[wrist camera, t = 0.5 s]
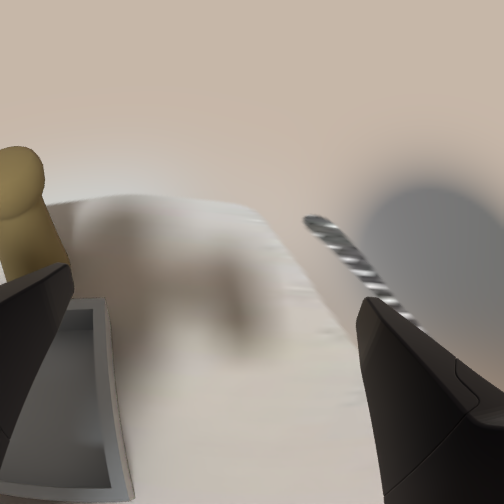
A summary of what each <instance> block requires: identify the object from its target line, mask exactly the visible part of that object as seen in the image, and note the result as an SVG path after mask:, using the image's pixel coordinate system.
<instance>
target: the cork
mask: <svg viewBox="0 0 504 504" xmlns="http://www.w3.org/2000/svg"><path fill="white" fill-rule="evenodd" d="M44 184H45V176H44V169H43V164H42V162H41V160H40V158H39V157H38V155H37V154H36V153H35V152H34V151H33V150H32V149H29V148H27V147H21V146H14V147H7V148H4V149H1V150H0V261H1V264H2V268H3V271H4V274H5V277H6V280H7V282H10V281H12V280H14V279H17V278H19V277H22V276H24V275H27V274H29V273H32V272H34V271H37V270H39V269H42V268H44V267H47V266H49V265H52V264H54V263H57V262H59V263H66V264H68V265H69V266H70V262H69V258H68V255H67V253H66V251H65V249H64V247H63V245H62V243H61V240H60V238H59V236H58V234H57V231H56V229H55V227H54V225H53V222H52V220H51V217H50V215H49V213H48V210H47V208H46V205H45V203H44V200H43V198H42V193H43V189H44Z"/></svg>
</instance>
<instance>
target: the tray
mask: <svg viewBox="0 0 504 504" xmlns="http://www.w3.org/2000/svg"><path fill="white" fill-rule="evenodd" d="M0 494H4V495H10V496H16V497H23V498H31V499H40V500H51V501H66V502H130V501H131V500H133V499H135V495H134V491H133V486H132V482H131V478H130V473H129V468H128V463H127V458H126V453H125V447H124V442H123V436H122V430H121V423H120V416H119V409H118V402H117V394H116V385H115V375H114V365H113V353H112V338H111V322H110V318H109V314H108V310H107V305H106V301H105V298H83V299H71V300H70V303H69V305H68V307H67V310H66V312H65V315H64V317H63V320H62V322H61V325H60V327H59V330H58V332H57V334H56V336H55V338H54V340H53V342H52V344H51V346H50V348H49V350H48V352H47V354H46V356H45V358H44V360H43V362H42V365H41V367H40V369H39V371H38V373H37V375H36V378H35V380H34V382H33V384H32V387H31V389H30V391H29V394H28V396H27V398H26V401H25V403H24V405H23V408H22V410H21V413H20V415H19V418H18V420H17V423H16V426H15V428H14V431H13V434H12V436H11V439H10V442H9V445H8V448H7V451H6V454H5V457H4V460H3V463H2V466H1V470H0Z"/></svg>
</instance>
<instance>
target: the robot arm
mask: <svg viewBox="0 0 504 504" xmlns="http://www.w3.org/2000/svg"><path fill="white" fill-rule="evenodd" d="M73 293H74V284H73V279H72V274H71V269H70V266H69V265H68V264H66V263H59V262H57V263H54V264H52V265H49V266H47V267H44V268H42V269H39V270H37V271H34V272H32V273H29V274H27V275H24V276H22V277H19V278H17V279H14V280H12V281H10V282H7V283H5V284H2V285H0V470H1V466H2V463H3V460H4V457H5V454H6V451H7V448H8V445H9V442H10V439H11V436H12V434H13V431H14V428H15V426H16V423H17V420H18V418H19V415H20V413H21V410H22V408H23V405H24V403H25V401H26V398H27V396H28V394H29V391H30V389H31V387H32V384H33V382H34V380H35V378H36V375H37V373H38V371H39V369H40V367H41V365H42V362H43V360H44V358H45V356H46V354H47V352H48V350H49V348H50V346H51V344H52V342H53V340H54V338H55V336H56V334H57V332H58V330H59V327H60V325H61V322H62V320H63V317H64V315H65V312H66V310H67V307H68V305H69V303H70V300H71V298H72V296H73ZM356 332H357V340H358V349H359V359H360V367H361V373H362V378H363V382H364V387H365V392H366V397H367V402H368V407H369V412H370V417H371V422H372V427H373V433H374V438H375V444H376V450H377V456H378V462H379V468H380V475H381V482H382V489H383V495H384V504H504V392H503V391H501V390H500V389H498V388H497V387H495V386H494V385H492V384H491V383H490V382H488V381H487V380H485V379H484V378H482V377H481V376H480V375H478V374H477V373H476V372H474V371H473V370H472V369H470V368H469V367H468V366H467V365H465V364H464V363H463V362H462V361H460V360H459V359H457V358H456V357H455V356H454V355H452V354H451V353H450V352H449V351H447V350H446V349H445V348H444V347H442V346H441V345H440V344H438V343H437V342H436V341H435V340H433V339H432V338H431V337H429V336H428V335H427V334H426V333H424V332H423V331H422V330H420V329H419V328H418V327H416V326H415V325H414V324H412V323H411V322H410V321H408V320H407V319H406V318H404V317H403V316H402V315H401V314H399V313H398V312H397V311H395V310H394V309H393V308H391V307H390V306H389V305H387V304H386V303H384V302H383V301H382V300H380V299H379V298H377V297H366V298H364V300H363V302H362V305H361V308H360V311H359V314H358V316H357V320H356Z"/></svg>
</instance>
